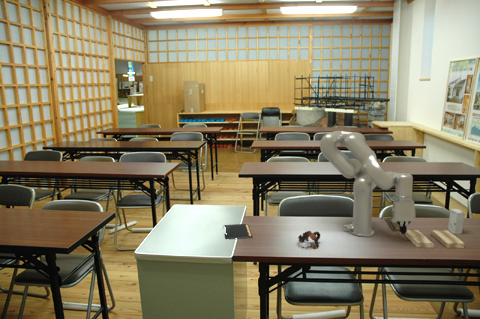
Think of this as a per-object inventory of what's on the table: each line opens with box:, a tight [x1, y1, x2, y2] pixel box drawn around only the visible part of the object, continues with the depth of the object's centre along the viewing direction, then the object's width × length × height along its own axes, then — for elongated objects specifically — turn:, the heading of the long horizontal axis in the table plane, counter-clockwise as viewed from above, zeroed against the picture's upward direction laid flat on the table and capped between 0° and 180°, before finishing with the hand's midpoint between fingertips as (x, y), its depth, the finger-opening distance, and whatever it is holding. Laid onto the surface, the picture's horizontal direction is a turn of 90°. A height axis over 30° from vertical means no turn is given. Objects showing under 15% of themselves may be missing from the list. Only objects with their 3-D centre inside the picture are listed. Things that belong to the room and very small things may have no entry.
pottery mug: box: [298, 230, 321, 250], centre depth 177 cm, size 12×10×8 cm
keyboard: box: [381, 216, 401, 233], centre depth 202 cm, size 22×9×2 cm, turn 170°
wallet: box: [223, 223, 254, 240], centre depth 195 cm, size 20×2×15 cm
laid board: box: [429, 229, 466, 249], centre depth 179 cm, size 9×16×2 cm, turn 176°
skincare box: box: [447, 208, 466, 235], centre depth 189 cm, size 6×4×12 cm
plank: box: [404, 229, 435, 249], centre depth 180 cm, size 8×16×2 cm, turn 177°
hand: (402, 233), depth 179 cm, fingers closed
